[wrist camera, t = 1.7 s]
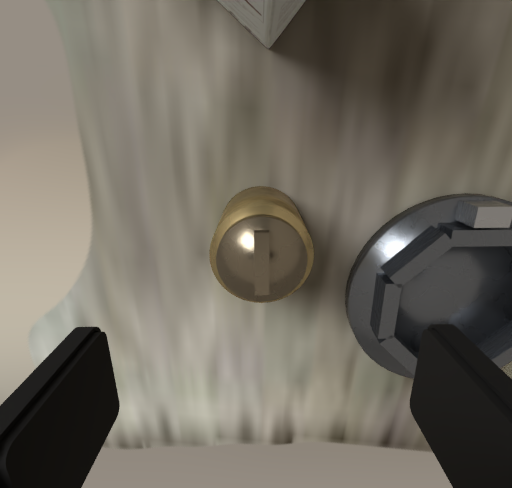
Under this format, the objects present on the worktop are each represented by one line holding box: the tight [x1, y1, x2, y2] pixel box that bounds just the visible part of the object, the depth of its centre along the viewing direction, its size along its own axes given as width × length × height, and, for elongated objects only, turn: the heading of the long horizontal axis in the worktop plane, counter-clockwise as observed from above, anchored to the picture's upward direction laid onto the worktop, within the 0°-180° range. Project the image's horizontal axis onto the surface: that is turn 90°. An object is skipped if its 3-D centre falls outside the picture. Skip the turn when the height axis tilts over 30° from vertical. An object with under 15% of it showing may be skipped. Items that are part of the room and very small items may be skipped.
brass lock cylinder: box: [210, 186, 314, 303], centre depth 18 cm, size 5×5×6 cm
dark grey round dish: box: [345, 194, 512, 378], centre depth 21 cm, size 14×14×3 cm
